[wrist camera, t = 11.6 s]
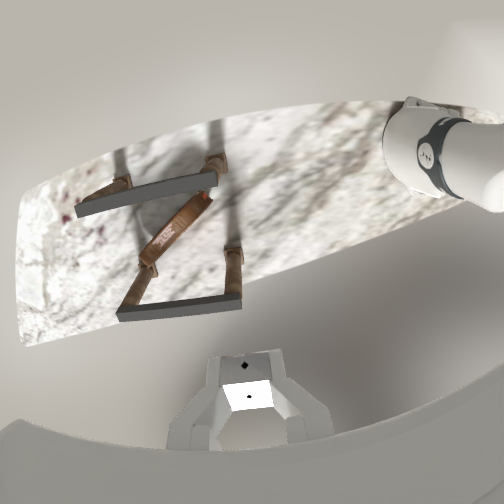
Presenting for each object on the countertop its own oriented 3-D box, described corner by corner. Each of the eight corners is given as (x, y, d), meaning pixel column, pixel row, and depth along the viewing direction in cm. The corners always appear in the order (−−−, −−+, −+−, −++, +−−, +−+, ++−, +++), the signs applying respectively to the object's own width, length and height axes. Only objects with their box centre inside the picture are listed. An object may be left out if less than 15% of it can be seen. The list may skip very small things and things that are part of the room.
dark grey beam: (239, 292, 36) (239, 299, 34) (241, 302, 37) (241, 309, 35) (119, 306, 36) (115, 313, 35) (123, 315, 37) (119, 322, 35)
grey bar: (215, 169, 29) (214, 171, 28) (218, 183, 30) (217, 186, 28) (80, 202, 29) (74, 206, 28) (83, 214, 30) (77, 218, 29)
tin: (158, 254, 47) (144, 278, 39) (145, 243, 46) (129, 265, 38) (216, 195, 43) (212, 210, 35) (202, 182, 42) (195, 194, 34)
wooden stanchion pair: (224, 153, 40) (219, 162, 29) (243, 262, 48) (246, 304, 37) (114, 178, 40) (77, 197, 29) (144, 277, 49) (122, 318, 37)
